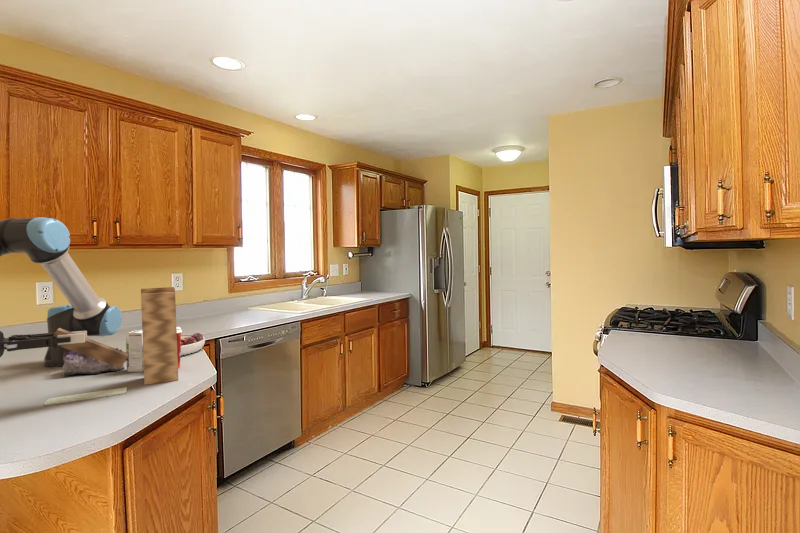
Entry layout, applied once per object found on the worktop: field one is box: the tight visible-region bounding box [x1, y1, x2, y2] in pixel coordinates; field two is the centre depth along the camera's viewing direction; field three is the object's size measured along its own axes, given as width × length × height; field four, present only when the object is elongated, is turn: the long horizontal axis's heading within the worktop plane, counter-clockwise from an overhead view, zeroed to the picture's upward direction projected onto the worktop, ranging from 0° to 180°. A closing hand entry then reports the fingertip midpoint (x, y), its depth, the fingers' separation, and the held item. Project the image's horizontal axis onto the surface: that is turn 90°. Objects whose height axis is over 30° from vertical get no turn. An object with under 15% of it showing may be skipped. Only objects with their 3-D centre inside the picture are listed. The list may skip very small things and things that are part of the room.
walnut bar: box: [53, 328, 128, 368], centre depth 135 cm, size 20×4×4 cm, turn 120°
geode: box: [61, 347, 126, 376], centre depth 164 cm, size 20×12×10 cm, turn 108°
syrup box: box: [125, 329, 144, 373], centre depth 165 cm, size 6×6×14 cm
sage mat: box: [44, 387, 128, 406], centre depth 136 cm, size 20×6×1 cm, turn 119°
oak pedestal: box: [140, 286, 179, 386], centre depth 153 cm, size 10×10×31 cm
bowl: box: [180, 332, 206, 357], centre depth 193 cm, size 30×30×8 cm
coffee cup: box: [176, 326, 183, 369], centre depth 167 cm, size 8×8×15 cm
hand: (85, 336), depth 135 cm, fingers closed on walnut bar, 4 cm apart
